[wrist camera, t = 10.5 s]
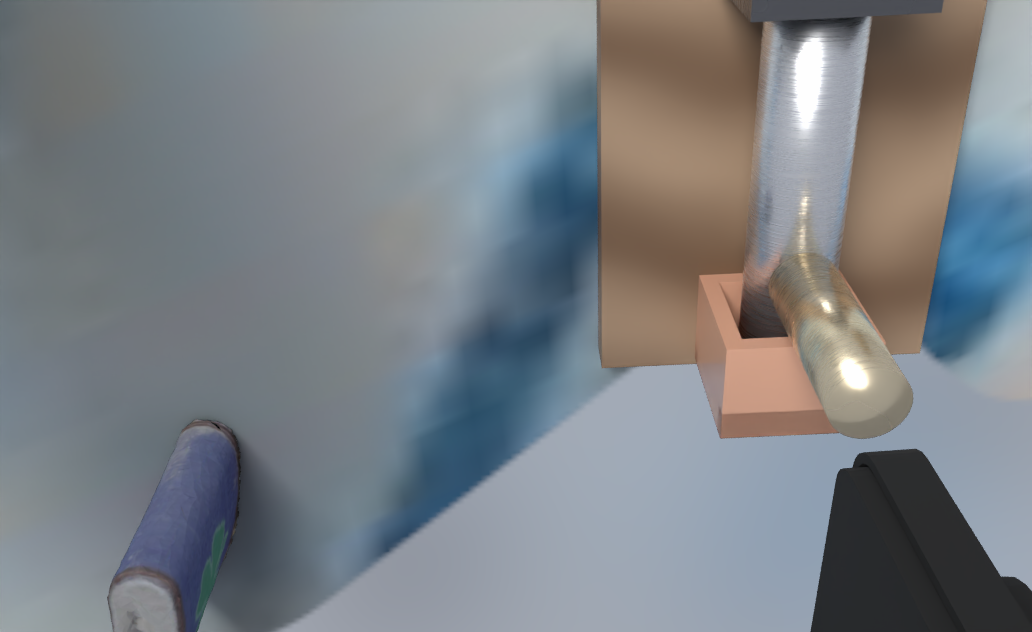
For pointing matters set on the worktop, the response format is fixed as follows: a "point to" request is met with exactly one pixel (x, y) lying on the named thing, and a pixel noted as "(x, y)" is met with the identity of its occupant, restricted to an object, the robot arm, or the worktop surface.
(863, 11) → the outer sleeve
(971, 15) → the base board
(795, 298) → the brushed metal peg
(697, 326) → the socket block
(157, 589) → the flask
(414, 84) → the worktop surface
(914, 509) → the robot arm
